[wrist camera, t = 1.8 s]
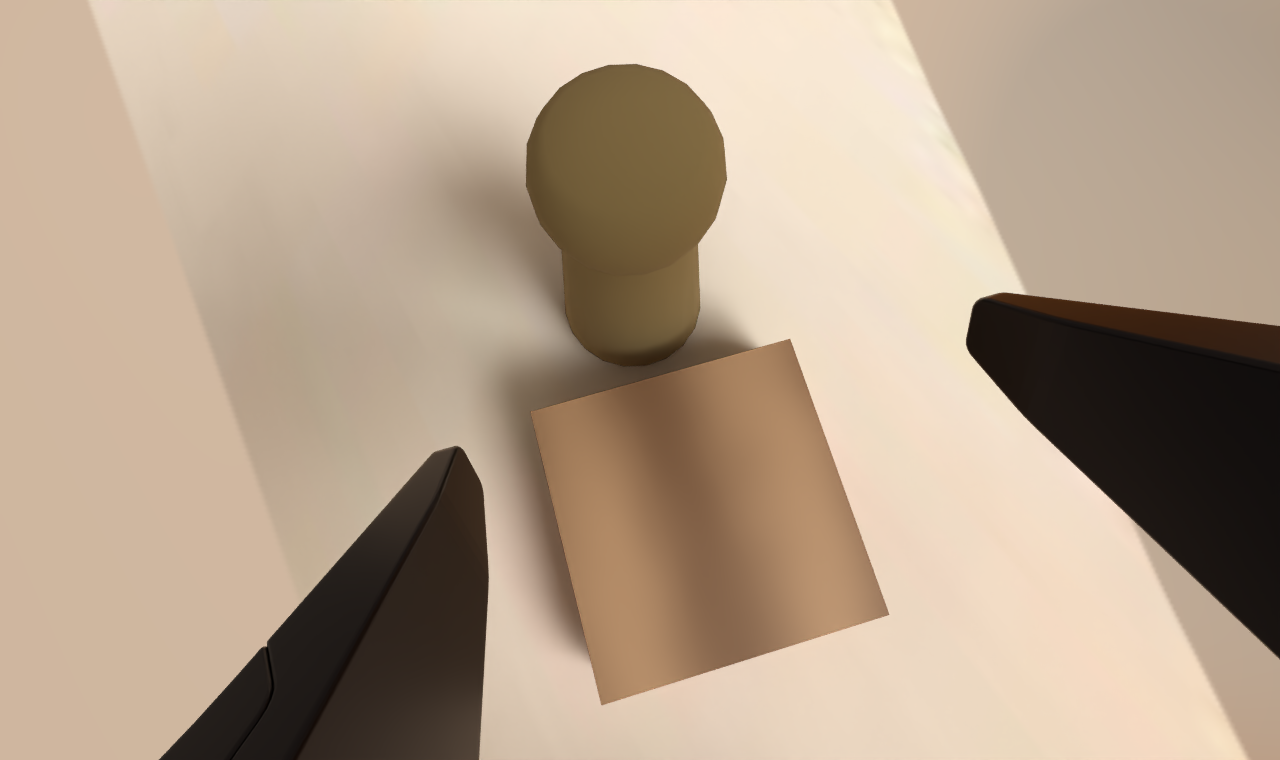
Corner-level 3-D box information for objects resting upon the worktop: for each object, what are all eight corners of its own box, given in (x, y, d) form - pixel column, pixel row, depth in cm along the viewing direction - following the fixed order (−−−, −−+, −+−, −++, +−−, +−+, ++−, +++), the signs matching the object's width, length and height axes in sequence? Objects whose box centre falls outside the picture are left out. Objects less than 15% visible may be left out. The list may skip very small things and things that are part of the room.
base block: (769, 358, 22) (789, 338, 19) (851, 594, 20) (889, 614, 17) (545, 421, 21) (530, 411, 18) (607, 671, 19) (601, 705, 16)
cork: (666, 389, 21) (691, 294, 11) (541, 332, 22) (443, 186, 11) (721, 269, 22) (796, 72, 12) (601, 218, 23) (565, -16, 12)
